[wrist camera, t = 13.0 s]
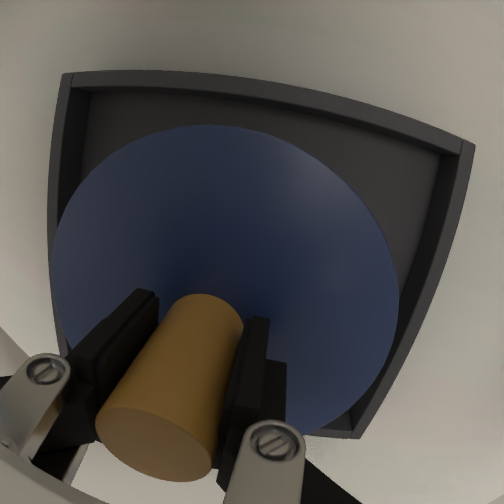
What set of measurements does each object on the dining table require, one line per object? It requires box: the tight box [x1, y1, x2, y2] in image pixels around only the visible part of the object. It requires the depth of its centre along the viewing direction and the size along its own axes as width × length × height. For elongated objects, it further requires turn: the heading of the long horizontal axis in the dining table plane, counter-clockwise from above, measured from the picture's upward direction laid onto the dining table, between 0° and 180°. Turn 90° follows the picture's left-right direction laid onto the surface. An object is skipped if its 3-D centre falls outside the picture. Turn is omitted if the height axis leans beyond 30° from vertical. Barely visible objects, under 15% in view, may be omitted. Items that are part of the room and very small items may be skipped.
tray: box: [47, 70, 475, 439], centre depth 15 cm, size 20×18×2 cm
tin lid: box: [51, 124, 399, 482], centre depth 9 cm, size 14×14×7 cm
